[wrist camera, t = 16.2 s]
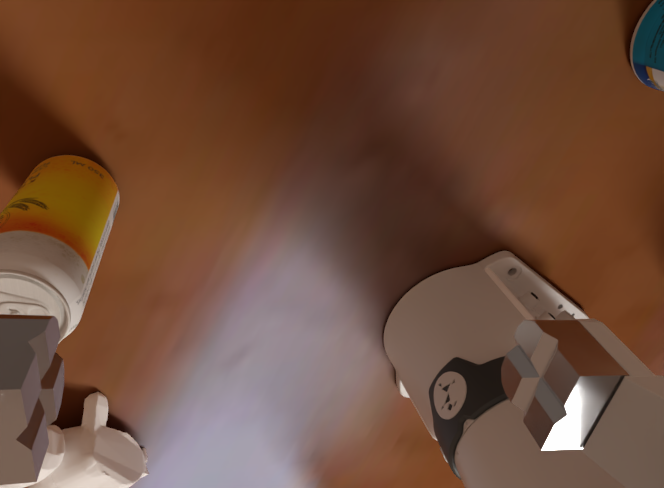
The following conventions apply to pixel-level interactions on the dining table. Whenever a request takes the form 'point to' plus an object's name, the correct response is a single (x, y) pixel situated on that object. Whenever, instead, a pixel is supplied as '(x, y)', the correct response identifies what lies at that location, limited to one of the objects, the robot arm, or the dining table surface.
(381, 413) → the dining table surface
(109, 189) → the beer can
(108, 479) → the white low-poly figurine
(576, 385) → the robot arm
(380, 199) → the dining table surface
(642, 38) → the beverage bottle
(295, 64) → the dining table surface
